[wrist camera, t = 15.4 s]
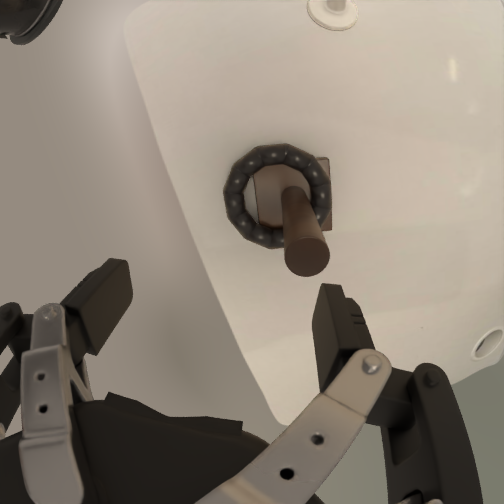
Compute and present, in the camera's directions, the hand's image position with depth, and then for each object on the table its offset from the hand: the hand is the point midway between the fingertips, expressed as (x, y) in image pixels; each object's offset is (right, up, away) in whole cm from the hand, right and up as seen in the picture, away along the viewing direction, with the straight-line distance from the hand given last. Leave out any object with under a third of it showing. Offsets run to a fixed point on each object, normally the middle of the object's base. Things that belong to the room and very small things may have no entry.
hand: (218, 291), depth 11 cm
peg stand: (+5, +7, +15) cm, 17 cm away
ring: (+4, +6, +13) cm, 15 cm away
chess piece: (+9, +25, +6) cm, 27 cm away
